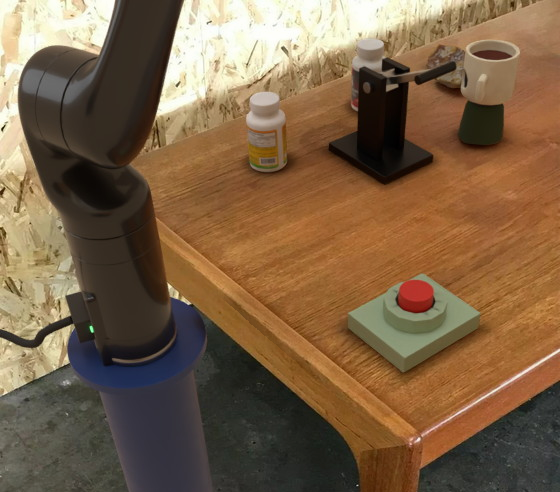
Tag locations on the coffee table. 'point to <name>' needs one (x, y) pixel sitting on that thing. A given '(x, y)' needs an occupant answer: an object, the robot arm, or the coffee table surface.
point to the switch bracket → (381, 129)
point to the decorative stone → (444, 56)
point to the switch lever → (416, 75)
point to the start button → (415, 296)
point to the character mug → (487, 89)
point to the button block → (412, 325)
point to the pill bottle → (365, 63)
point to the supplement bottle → (266, 133)
